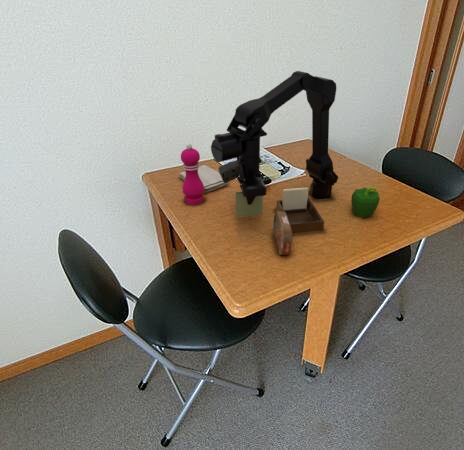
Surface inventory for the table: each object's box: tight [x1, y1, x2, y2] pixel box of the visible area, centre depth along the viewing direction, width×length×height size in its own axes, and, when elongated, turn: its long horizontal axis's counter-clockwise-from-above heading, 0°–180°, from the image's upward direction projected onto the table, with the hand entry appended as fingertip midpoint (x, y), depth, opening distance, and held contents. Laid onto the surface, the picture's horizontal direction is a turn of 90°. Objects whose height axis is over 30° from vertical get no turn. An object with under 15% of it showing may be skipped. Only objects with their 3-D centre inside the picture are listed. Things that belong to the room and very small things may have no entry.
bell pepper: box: [350, 186, 381, 219], centre depth 107 cm, size 8×8×10 cm
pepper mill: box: [180, 143, 205, 206], centre depth 111 cm, size 7×7×20 cm
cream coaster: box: [281, 186, 310, 210], centre depth 108 cm, size 1×8×8 cm, turn 100°
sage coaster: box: [234, 191, 264, 218], centre depth 101 cm, size 1×8×8 cm, turn 100°
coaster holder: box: [275, 197, 325, 235], centre depth 105 cm, size 14×11×4 cm
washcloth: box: [178, 165, 229, 195], centre depth 127 cm, size 12×18×3 cm, turn 40°
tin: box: [272, 210, 293, 256], centre depth 93 cm, size 15×3×8 cm, turn 5°
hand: (249, 203), depth 101 cm, fingers closed on sage coaster, 1 cm apart
